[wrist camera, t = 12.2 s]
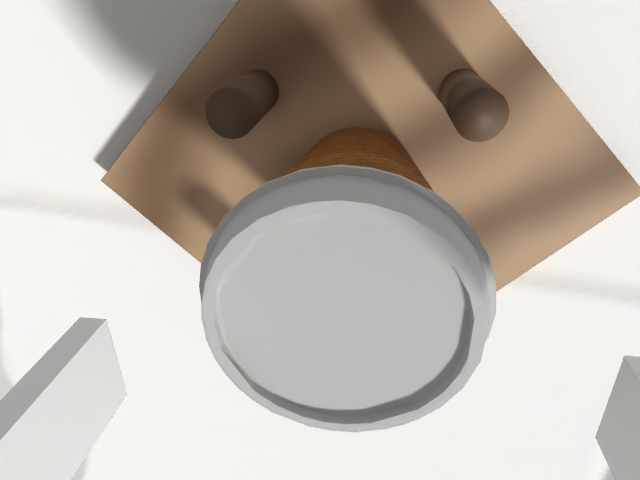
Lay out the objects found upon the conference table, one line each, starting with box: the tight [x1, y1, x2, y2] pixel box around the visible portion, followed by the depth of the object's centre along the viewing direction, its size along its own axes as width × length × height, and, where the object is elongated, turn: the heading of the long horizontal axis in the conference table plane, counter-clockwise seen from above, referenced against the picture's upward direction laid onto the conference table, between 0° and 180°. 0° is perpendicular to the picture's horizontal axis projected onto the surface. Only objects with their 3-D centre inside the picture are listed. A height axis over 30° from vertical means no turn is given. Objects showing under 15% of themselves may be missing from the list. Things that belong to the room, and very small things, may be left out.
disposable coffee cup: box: [199, 127, 496, 432], centre depth 20 cm, size 10×10×12 cm
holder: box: [101, 0, 640, 292], centre depth 23 cm, size 20×20×6 cm
